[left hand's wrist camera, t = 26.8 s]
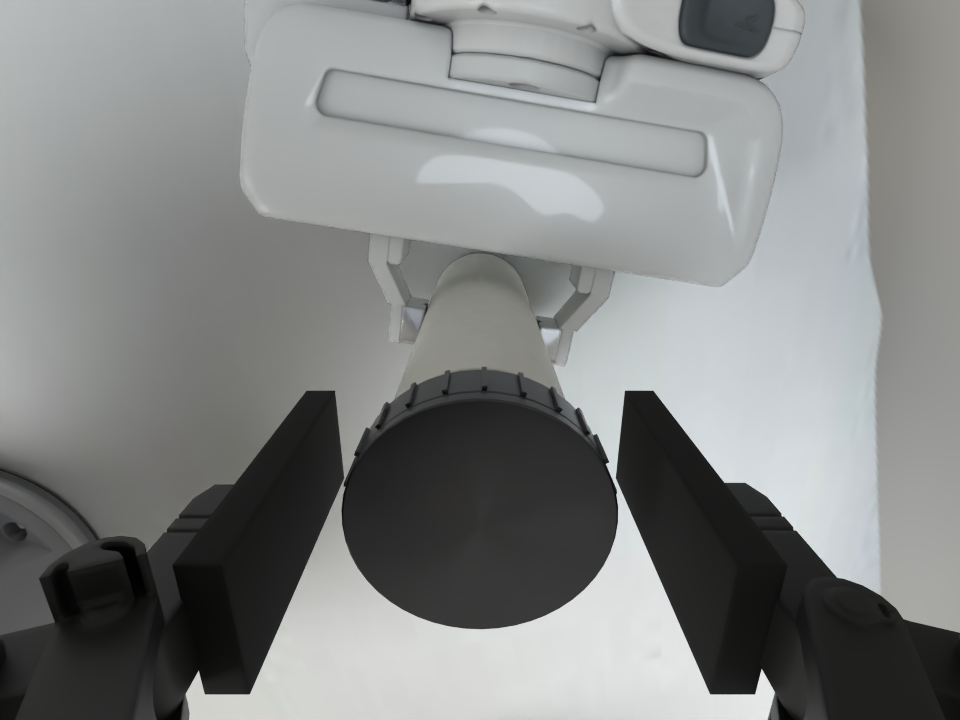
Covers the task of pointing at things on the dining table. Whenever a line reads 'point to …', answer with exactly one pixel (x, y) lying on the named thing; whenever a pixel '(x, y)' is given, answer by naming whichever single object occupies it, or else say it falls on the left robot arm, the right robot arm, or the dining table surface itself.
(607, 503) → the lid
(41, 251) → the dining table surface
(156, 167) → the dining table surface
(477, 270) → the jar
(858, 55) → the dining table surface
